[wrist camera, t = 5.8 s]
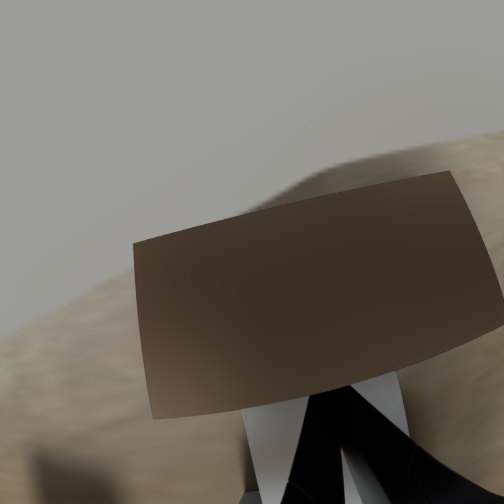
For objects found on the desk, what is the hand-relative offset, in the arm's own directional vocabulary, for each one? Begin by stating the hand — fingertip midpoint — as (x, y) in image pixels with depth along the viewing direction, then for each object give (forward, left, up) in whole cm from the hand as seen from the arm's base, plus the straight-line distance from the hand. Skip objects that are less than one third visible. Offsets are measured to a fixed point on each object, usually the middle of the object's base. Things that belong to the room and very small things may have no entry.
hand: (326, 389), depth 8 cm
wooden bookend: (-1, +2, -8) cm, 9 cm away
